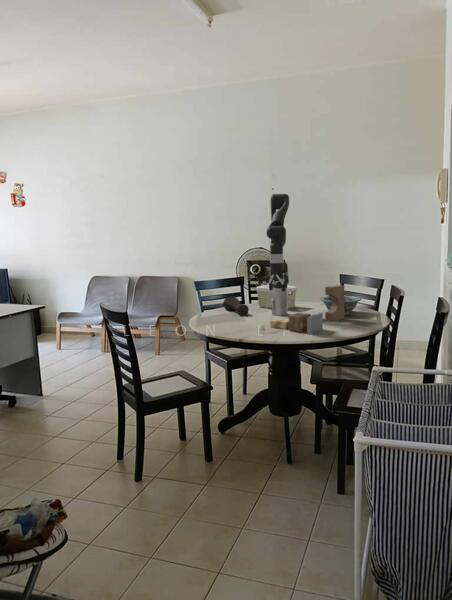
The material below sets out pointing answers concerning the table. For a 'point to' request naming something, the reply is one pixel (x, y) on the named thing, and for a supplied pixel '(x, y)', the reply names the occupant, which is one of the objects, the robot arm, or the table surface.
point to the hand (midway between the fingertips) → (277, 290)
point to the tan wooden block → (279, 324)
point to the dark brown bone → (235, 305)
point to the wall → (314, 323)
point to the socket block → (298, 322)
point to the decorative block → (335, 303)
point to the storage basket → (267, 295)
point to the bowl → (349, 303)
